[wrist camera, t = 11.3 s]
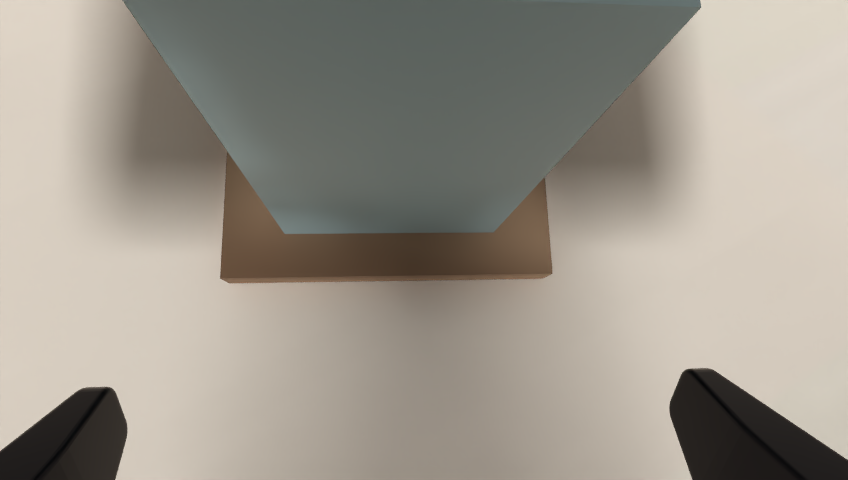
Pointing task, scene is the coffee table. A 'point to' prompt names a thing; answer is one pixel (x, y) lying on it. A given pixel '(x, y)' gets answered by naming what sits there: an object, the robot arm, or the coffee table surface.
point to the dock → (377, 247)
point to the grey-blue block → (403, 98)
